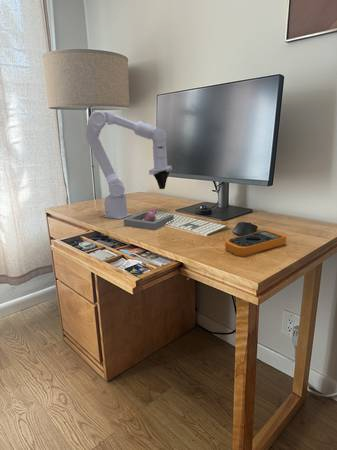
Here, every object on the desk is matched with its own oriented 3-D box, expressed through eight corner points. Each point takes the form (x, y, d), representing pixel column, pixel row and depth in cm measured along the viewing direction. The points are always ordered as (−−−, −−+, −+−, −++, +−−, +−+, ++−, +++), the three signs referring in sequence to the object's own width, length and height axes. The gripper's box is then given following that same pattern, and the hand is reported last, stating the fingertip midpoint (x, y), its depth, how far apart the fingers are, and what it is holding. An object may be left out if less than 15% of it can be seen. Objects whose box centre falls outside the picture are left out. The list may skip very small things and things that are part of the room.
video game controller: (150, 230, 121) (157, 214, 119) (139, 225, 121) (146, 209, 119) (153, 222, 131) (160, 207, 129) (143, 218, 130) (149, 203, 128)
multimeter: (221, 250, 94) (221, 239, 93) (266, 238, 102) (267, 228, 101) (240, 259, 86) (240, 248, 85) (287, 245, 94) (288, 234, 93)
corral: (124, 225, 123) (123, 219, 123) (144, 217, 134) (143, 211, 133) (154, 230, 115) (154, 223, 114) (173, 221, 125) (173, 215, 125)
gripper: (157, 159, 126) (160, 192, 130) (177, 155, 137) (178, 186, 141) (144, 159, 130) (146, 191, 134) (163, 155, 141) (165, 185, 145)
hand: (162, 188), depth 138 cm, fingers closed
